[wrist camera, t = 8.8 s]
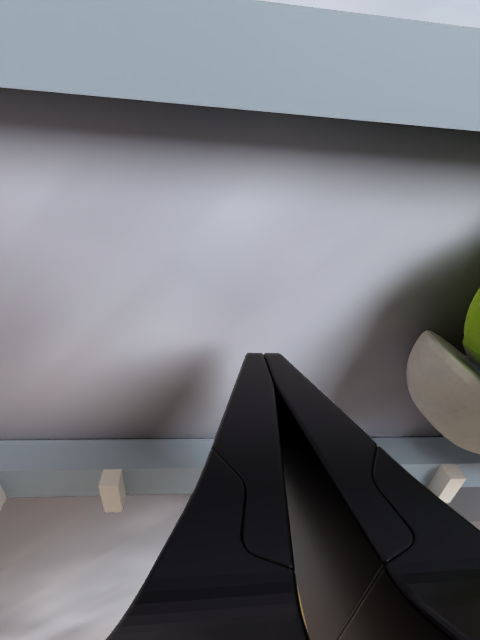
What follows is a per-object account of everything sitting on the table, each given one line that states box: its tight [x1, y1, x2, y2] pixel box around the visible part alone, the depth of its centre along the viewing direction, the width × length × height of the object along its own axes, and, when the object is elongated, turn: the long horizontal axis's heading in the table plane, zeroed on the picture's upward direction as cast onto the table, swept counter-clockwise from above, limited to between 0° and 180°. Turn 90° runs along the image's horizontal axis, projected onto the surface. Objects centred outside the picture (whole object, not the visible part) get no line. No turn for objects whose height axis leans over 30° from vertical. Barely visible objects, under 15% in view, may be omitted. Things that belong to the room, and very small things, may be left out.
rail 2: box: [0, 437, 480, 513], centre depth 13 cm, size 20×2×2 cm, turn 86°
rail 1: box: [0, 0, 480, 131], centre depth 7 cm, size 20×2×1 cm, turn 86°
